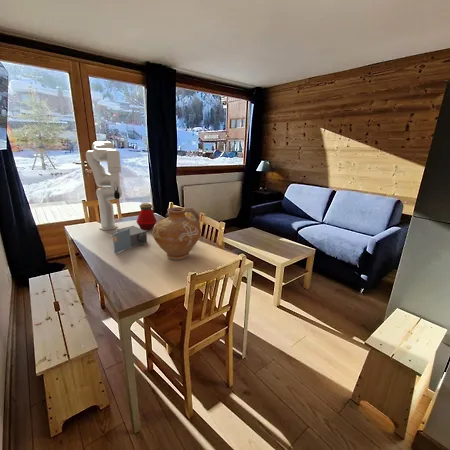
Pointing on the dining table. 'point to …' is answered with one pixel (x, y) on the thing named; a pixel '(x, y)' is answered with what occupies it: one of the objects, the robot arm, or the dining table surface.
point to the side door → (121, 240)
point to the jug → (178, 232)
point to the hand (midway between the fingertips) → (117, 198)
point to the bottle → (146, 217)
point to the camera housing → (136, 235)
